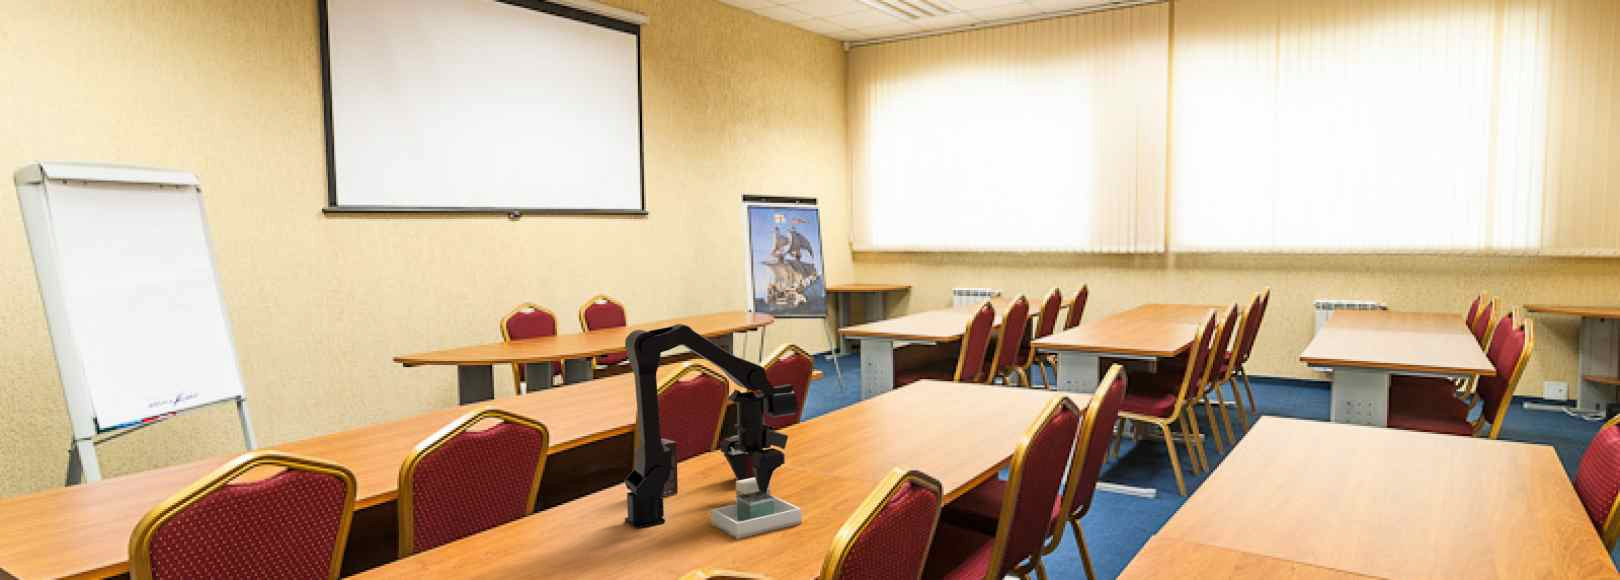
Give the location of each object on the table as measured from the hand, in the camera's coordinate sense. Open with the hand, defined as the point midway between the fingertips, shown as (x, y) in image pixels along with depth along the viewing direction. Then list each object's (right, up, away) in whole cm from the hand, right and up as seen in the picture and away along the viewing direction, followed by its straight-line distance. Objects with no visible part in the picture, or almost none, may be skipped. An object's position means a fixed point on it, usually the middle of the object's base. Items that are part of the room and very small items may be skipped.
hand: (752, 489), depth 194 cm
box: (-21, -3, +10) cm, 23 cm away
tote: (+2, -4, -14) cm, 14 cm away
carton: (0, -3, 0) cm, 3 cm away
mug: (-3, -2, +18) cm, 18 cm away
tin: (+2, -3, -14) cm, 14 cm away
